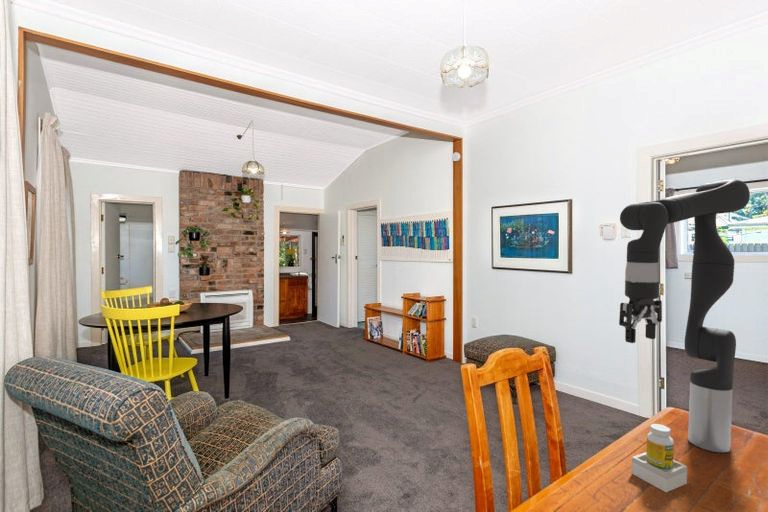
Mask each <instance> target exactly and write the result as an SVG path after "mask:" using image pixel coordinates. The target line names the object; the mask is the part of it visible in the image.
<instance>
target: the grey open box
mask: <svg viewBox="0 0 768 512" xmlns="http://www.w3.org/2000/svg"><path fill="white" fill-rule="evenodd" d="M631 475H633V476H635V477H637V478H639V479H641V480H642V481H645V482H646V483H648V484H649V485H652V486H654V487H656V488H658V489H659V490H661V491H663V492H665V493H669V492H670V491H671V492H672V491H673V490H675V489H677V488H680V487H682V486H685V485H687V483H688V465H686V464H683V463H681V462H679V461H678V460H675V459H673V469H672V470H670V471H667V472H664V471H662V470H660V469H658V468H656V467H654V466H652V465H650V464H648V463H647V462H646V451H645V452H643V453H640V454H639V453H638V454H637V455H633V456H632V457H631Z"/></svg>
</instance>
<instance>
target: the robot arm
mask: <svg viewBox="0 0 768 512" xmlns="http://www.w3.org/2000/svg"><path fill="white" fill-rule="evenodd" d="M750 198H751V193H750V189H749V187H748V185H747V184H746V183H745V182H744V181H743V180H739V179H725V180H719V181H714V182H707V183H703V184H700V185H699V186H698V187H697V188H696V190H695V192H690V193H689V192H687V193H684V194H683V193H682V194H677V195H671V196H668V197H663V198H661V199H657V200H651V201H650V200H649V201H643V202H637V203H632V204H629V205H627V206H625V207H624V208H623V209H622V211H621V212H620V216H619V221H620V224H621V225H622V227H624V228H625V229H627V230H630V231H642V234H641V236H640V237H638V238H636V239H632V240H629V241H628V243H627V246H626V266H625V272H624V273H625V274H624V275H625V276H624V278H625V279H624V295H625V296H626V297H627V298H629V300H628V303H627V302H621V303H620V304H619V320H618V325H619V326H621V327H624V328H625V329H624V330H625V334H624V335H625V336H624V338H625V339H624V340H625V342H626V343H630V344H636V342H637V341H636V337H637V336H636V335H637V332H636V330H637V329H636V327H637V326H638V323H641V321H642V319H643V320H644V321H645V334H644V336H645V338H646V339H649V340H655V339H656V337H657V336H656V334H657V331H656V330H657V328H656V327H657V326H658V323H662V321H663V304H662V303H663V302H662V300H661V299H658V298H659V297H660V266H659V265H660V263H659V262H660V261H659V259H660V245H661V242H662V239H663V237H664V234H665V230H666V227H667V225H670V224H674V223H678V222H681V221H684V220H689V219H692V218H693V219H694V240H693V241H694V243H693V245H694V246H693V256H692V264H691V265H692V266H691V279H690V282H691V283H690V299H689V301H690V302H689V311H688V314H687V321H686V328H685V335H684V351H685V353H686V355H687V357H690V358H693V359H694V358H695V359H699V360H704V361H709V362H713V363H716V366H714V367H711V368H707V369H706V368H704V369H701V368H700V369H695V370H692V371H691V372H690V375H689V377H690V378H689V403H688V404H689V405H688V407H689V408H688V427H687V428H688V431H687V439H688V440H687V441H689V443H691V444H692V445H694V446H696V447H698V448H701V449H703V450H706V451H709V452H713V453H720V454H721V453H723V454H724V453H729V452H731V440H732V439H731V438H732V416H733V414H732V412H733V411H732V410H733V384H734V369H735V366H734V365H735V359H736V351H737V350H736V349H737V340H736V336H735V334H734V332H733V331H731V330H728V329H727V330H726V329H722V328H721V329H720V328H714V327H709V326H708V327H707V326H703V325H704V322H705V318H706V316H707V314H708V312H709V311H710V309H712V307H713V306H715V303H717V302H718V300H720V299H721V298H722V297H723V296H725V294H726V293H727V291H729V289H730V288H731V286H732V285H733V282H734V274H735V259H734V258H735V257H734V255H733V254H732V252H731V250H730V249H729V247H728V246H727V245H726V243H725V242H724V240H723V239H722V237H721V236H720V234H719V232H718V227H717V215H718V214H729V213H735V212H738V211H741V210H742V209H745V207H747V205H748V204H749V202H750Z"/></svg>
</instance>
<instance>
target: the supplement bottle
mask: <svg viewBox="0 0 768 512" xmlns="http://www.w3.org/2000/svg"><path fill="white" fill-rule="evenodd" d="M649 430H650V432H648V433H647V435H646V451H645V452H646V462H647V463H648V464H650V465H652V466H654V467H656V468H658V469H660V470H662V471H664V472H667V471H670V470H672V469H673V460H674V447H675V446H674V445H675V441H674V439H673V438H672V437H671V431H672V429H671V428H670V427H668V426H665V424H659V423H652V424H650V428H649Z"/></svg>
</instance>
